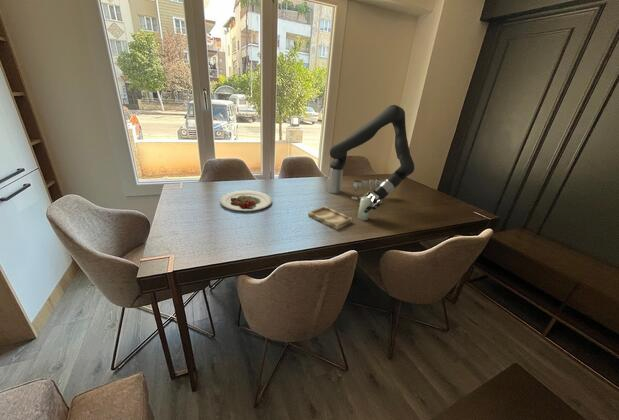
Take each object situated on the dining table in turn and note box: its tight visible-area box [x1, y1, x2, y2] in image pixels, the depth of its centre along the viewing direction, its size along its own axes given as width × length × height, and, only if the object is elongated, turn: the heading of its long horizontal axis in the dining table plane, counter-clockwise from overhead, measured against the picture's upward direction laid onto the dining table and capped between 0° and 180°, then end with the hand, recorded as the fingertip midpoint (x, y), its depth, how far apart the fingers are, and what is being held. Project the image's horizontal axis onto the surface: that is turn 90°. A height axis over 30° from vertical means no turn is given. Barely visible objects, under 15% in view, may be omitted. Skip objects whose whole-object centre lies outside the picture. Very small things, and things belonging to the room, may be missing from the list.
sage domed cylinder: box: [357, 196, 372, 221], centre depth 143 cm, size 6×6×12 cm
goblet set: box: [351, 177, 387, 200], centre depth 174 cm, size 28×6×13 cm, turn 109°
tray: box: [307, 205, 353, 231], centre depth 140 cm, size 20×14×2 cm
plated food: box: [219, 189, 273, 212], centre depth 151 cm, size 30×30×3 cm
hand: (361, 209), depth 143 cm, fingers open, 6 cm apart
